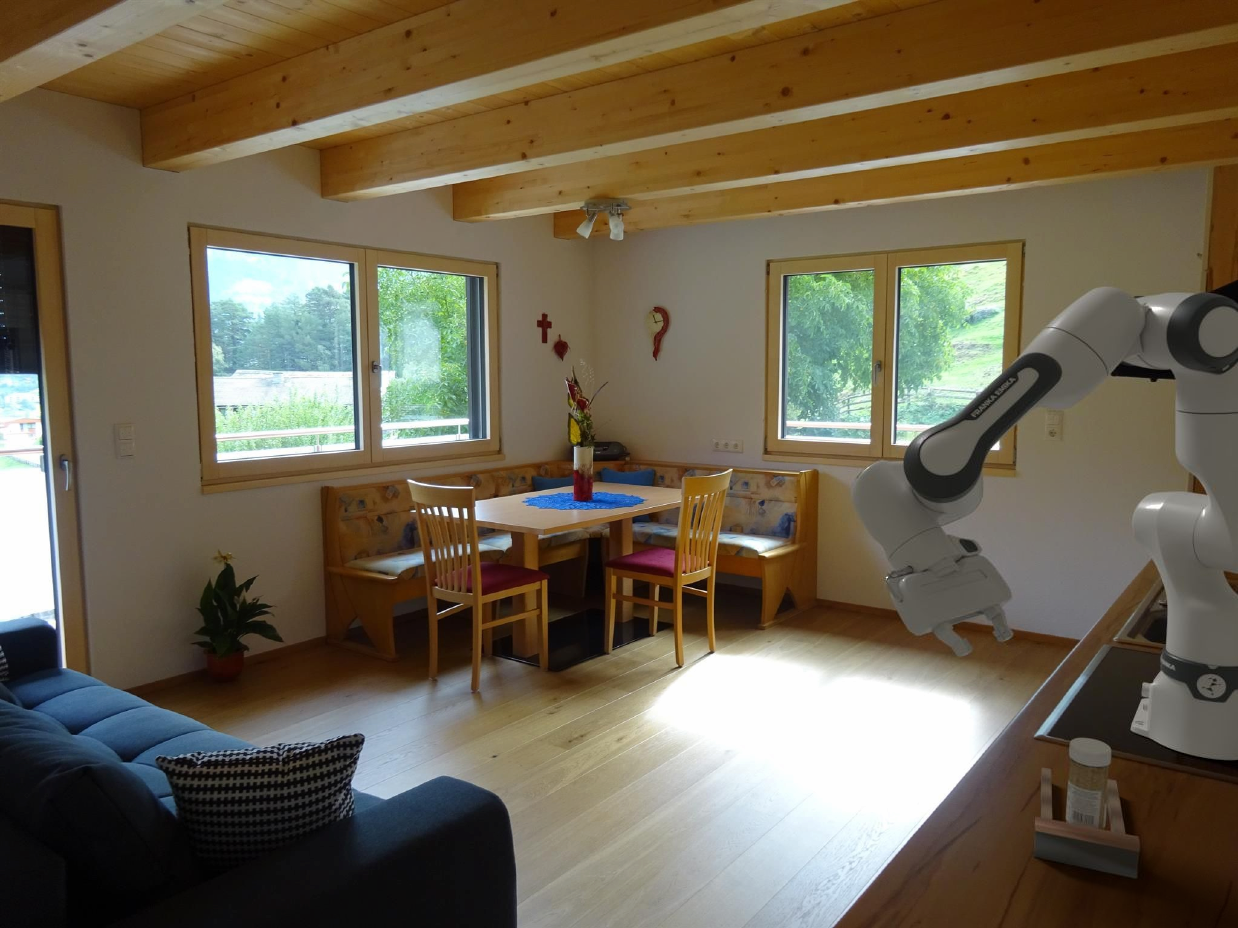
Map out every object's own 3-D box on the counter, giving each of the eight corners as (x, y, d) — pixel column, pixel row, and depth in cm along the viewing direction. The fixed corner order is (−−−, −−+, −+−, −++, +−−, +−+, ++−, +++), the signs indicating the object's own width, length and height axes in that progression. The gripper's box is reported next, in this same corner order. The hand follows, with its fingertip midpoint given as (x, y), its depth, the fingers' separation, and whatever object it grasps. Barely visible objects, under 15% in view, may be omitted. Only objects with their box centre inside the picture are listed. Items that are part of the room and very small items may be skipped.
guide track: (1034, 779, 131) (1036, 751, 131) (1122, 795, 127) (1124, 766, 126) (1033, 856, 111) (1035, 824, 111) (1137, 878, 107) (1140, 845, 106)
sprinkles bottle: (1110, 849, 113) (1119, 745, 111) (1091, 860, 110) (1099, 755, 109) (1074, 833, 117) (1081, 732, 115) (1055, 844, 114) (1062, 741, 112)
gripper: (893, 561, 122) (955, 651, 115) (983, 539, 133) (1044, 619, 127) (866, 586, 126) (924, 675, 119) (956, 563, 138) (1013, 642, 131)
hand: (987, 646), depth 123 cm, fingers open, 8 cm apart
